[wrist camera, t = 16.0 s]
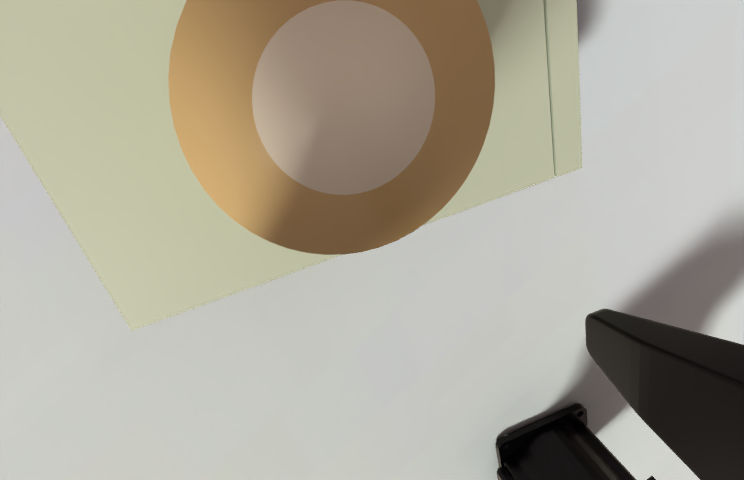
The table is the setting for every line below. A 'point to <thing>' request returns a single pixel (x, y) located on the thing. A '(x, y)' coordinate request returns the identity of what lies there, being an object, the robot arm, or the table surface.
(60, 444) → the table surface
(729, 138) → the table surface
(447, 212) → the lid
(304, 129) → the dome push button
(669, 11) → the table surface
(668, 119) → the table surface
